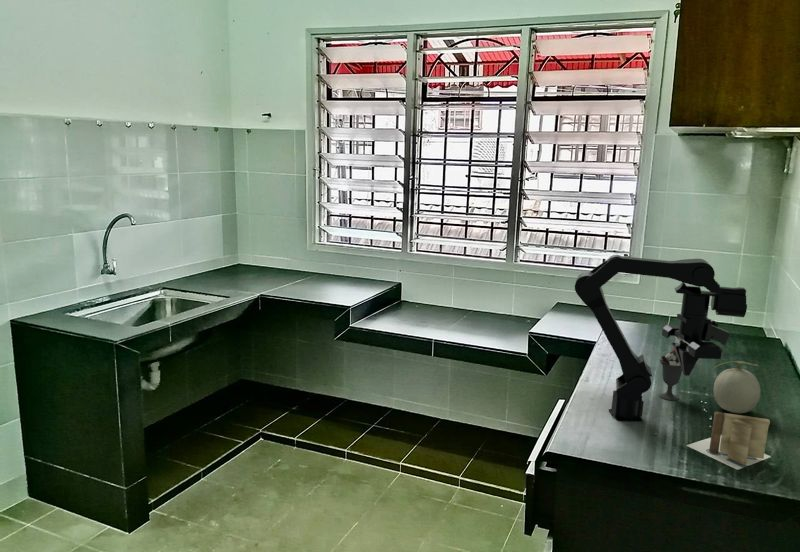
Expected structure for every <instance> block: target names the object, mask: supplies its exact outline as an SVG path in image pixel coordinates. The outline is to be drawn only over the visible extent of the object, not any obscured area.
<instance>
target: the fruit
mask: <svg viewBox="0 0 800 552" xmlns="http://www.w3.org/2000/svg"><path fill="white" fill-rule="evenodd" d="M727 364H728V365H729V364H735V366H736V367H733V368H727V369H725V370H723V371H721V372H720V373H719V374H718V375H717V376H716V378H715V380H714V384H713V395H714V399H715V402H716V403H717V405H718V406H719V407H720V408H721V409H723V410H725V411H727V412H729V413H731V414H737V415H741V414H746V413H748V412H750V411H752V410H753V409H754V408H756V406H757V405H758V402H759V400H760V398H761V386H760V382H759V380H758V378H756V377H755V375H754V374H752V373H751V372H750V371H749V370H746V369H743V368H741V365H747V366H754V367H759V364H754V363H750V362H746V361H742V360H741V361H740V360H735V361H734V360H732V361H727V362H721V363H719V364H717V365H715V366H714V367H712V370H715V369H716V368H718V367H721V366H724V365H727Z"/></svg>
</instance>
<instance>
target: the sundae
mask: <svg viewBox="0 0 800 552" xmlns="http://www.w3.org/2000/svg"><path fill="white" fill-rule="evenodd" d="M660 357H661V359H659V362H660V365H661V367H662V368H661V369H662V380H663V382H664V383H665V384H666V385H667V389H666V392H662V393H659V395H658V396H659V397H660V398H661V399H663V400H666V401H670V402H671V401H672V402H674V401H679V399H680V398H679V397H678V396H677V395H676V394H673V386H676V385H677V384H679V381H680V379H681V376H682V374H683V371H682V369H681V366H680V363H679V360H678V358H677V355H676V352H675V350H674V349H672V350H671V351H670V352H668V353H667V354H665V355H661V356H660Z"/></svg>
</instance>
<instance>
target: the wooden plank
mask: <svg viewBox="0 0 800 552" xmlns="http://www.w3.org/2000/svg"><path fill="white" fill-rule="evenodd" d="M712 420H713V421H712V429H711V437H710V438H711V442H710V449H709V452H711V453H713V454H718V451H719V444H720V437H721V435H722V429H723V422H724V412H721V411H715V412H714V415H713V419H712ZM732 423H733V424H732V431H731V438H730V445H729V452H728V458H730V459H732V460H734V461H737V462H739V463H741V464H743V465H744V464H746V462H747V456H748V449H749V442H750V436H751V429H752V428H753V425H750V424H748V423H745V422H743V421H740V420H738V419H734V420H732Z"/></svg>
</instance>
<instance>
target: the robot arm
mask: <svg viewBox="0 0 800 552" xmlns="http://www.w3.org/2000/svg"><path fill="white" fill-rule="evenodd" d="M619 273H621V274H628V275H629V274H631V275H640V276H646V277H647V276H648V277H657V278H665V279H667V278H668V279H672V280H675V281H679V282H680V284H679V285H678V286H675V287H674V291H675V292H676V294H681V295H682V300H681V301H682V302H681V309H680V313H677V314H676V318H677V319H678V320H679V324H666V325H665V326H663V328H662V329H661V336H663V337H664V338H665V339H669V338H670V337H674V339H675V341H674V342H672V343H671V346H672V347H673V350H675V352H676V355H677V358H678V360H679V363H680V366H681V369H682V374H683V375H684V376H685V377H686V376H687V377H688V376H690V375H691V373H692V371H693V370H694V368H695V366H696V365H697V362H698V360H699V359H703V360H704V359H708V360H722V358H723V352H724V350H723V349H722V348H721V347H720V346H719V345H718V344H717V343H716V344H715V342H718V343H720V345H723V346H726V345H727V343H728V342H729V340H730V337H731V336H732V333H731V332H729V331H728V330H726V329H724V328H722V327H720V326H719V323H718V322H717V321H716V320H714V319H711V318H709V317H708V314H709V308H710V310H711V311H714V312H715V315H717V316H724V317H725V316H726V317H736V318H744V317H746V314H747V309H748V304H747V290H746V288H745V287H729V286H728V287H726V286H721V285H720V283H719V282H718V281H716V279H715V277H716V276H715V275H716V274H715V273H716V272H715V270H714V267H713V266H712V265H711V264H710V263H709V262H708V261H707V260H705V259H702V258H688V259H687V258H686V259H685V258H684V259H679V260H678V259H677V260H664V259H663V260H662V259H654V258H643V257H633V256H624V255H623V256H622V255H620V254H612V255H611V256H609V257H608V258H607V259H606V260H605V261H603V262H601V263H600V264H598V265H597V266H596V267H594V268H592V269H591V270H590V271H583V272H581V273H580V274H579V275H578V276H577V278H576V280H575V283H574V291H575V293H576V295H577V296H578V297H579V298H580V300H581V301H582V302H583V304H585V305H586V306H587V307H588V309H589V310H590V311H591V312H592V313H593V315H594V317H595V319H596V321H597V322H598V324H599V327H600V328H601V329H602V332H603V334H604V335H605V338H606V339H607V341H608V342H609V345H610V346H611V349H612V350H613V352H614V354H615V355H616V357H617V360H618V361H619V364H620V368H621V370H622V371H621V372H622V374H621V375H619V376H618V377H617V378H616V379H615V384H616V385H615V388H616V389H615V390H613V391H612V399H611V400H612V401H611V408H609V409H608V412H609V413H610V415H611V416H612V417H613V418H614V420H615V421H616V422H638V423H639V422H640V423H641V422H642V423H643V418H642V417H643V414H644V413H643V411H644V403H645V402H644V401H643V394H645V393H646V392H648V391H649V390H650V388H651V386H652V379H651V378H652V377H653V373H652V369H651V366H650V365H648V363H647V362H646V359H645V357H644V354H643V353H642V354H641V355H639V356H638V355H637V354H636V353H635V352H634V351H633V350H632V348H631V346H630V344H629V342H628V340H627V339H626V337H625V335H624V333H623V331H622V329H621V327H620V326H619V323H618V322H617V320H616V318H615V317H614V315H613V313H612V311H611V309H610V306H609V305H608V304H607V301H606V297H605V293H604V290H603V286H605V284H607V282H609V281H610V280H611V279H612V278H614V277H615V276H616V275H618V274H619ZM701 287H703V288H705V289H706V290H701ZM709 306H710V307H709ZM711 340H713V341H715V342H712V341H711Z"/></svg>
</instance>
